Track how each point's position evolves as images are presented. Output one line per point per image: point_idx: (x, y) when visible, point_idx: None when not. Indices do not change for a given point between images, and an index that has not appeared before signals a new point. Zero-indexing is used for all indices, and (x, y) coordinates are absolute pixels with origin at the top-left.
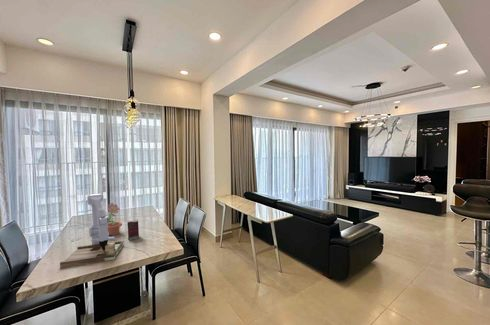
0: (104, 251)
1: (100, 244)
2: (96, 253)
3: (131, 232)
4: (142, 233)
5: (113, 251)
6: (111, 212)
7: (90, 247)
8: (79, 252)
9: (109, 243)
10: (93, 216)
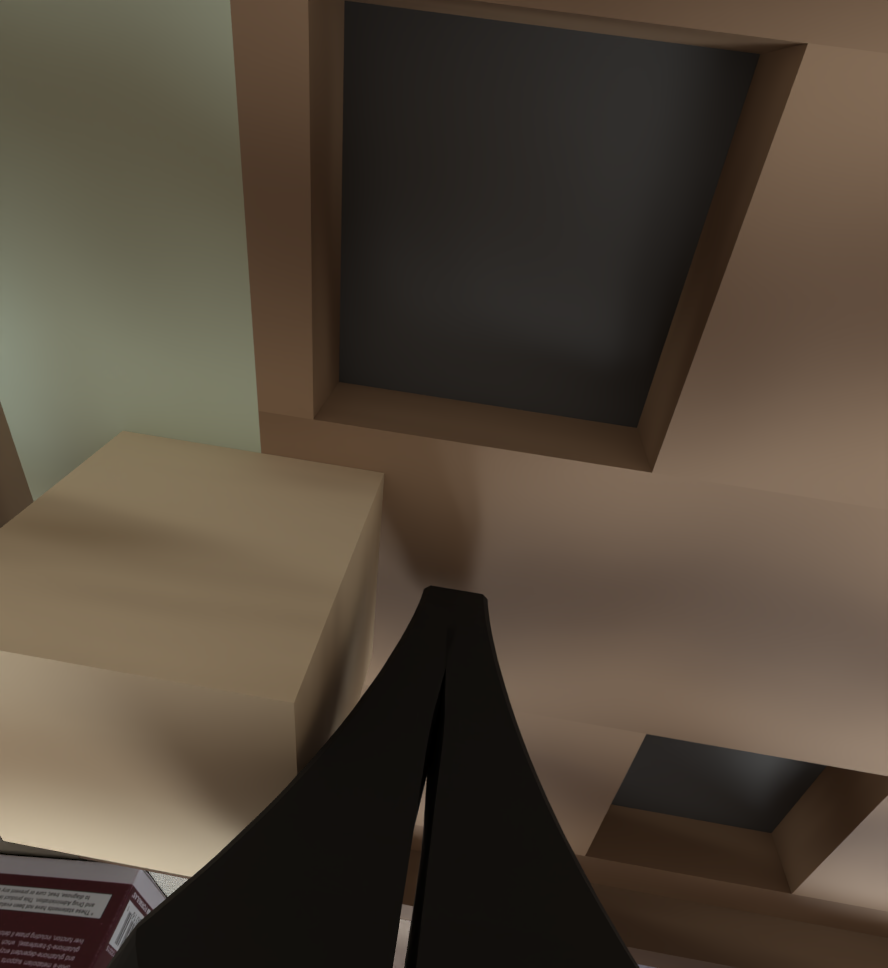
0: (445, 571)
1: (571, 935)
2: (704, 545)
3: None
4: None
5: (102, 419)
6: None
7: (845, 925)
8: None
9: (204, 852)
10: None
